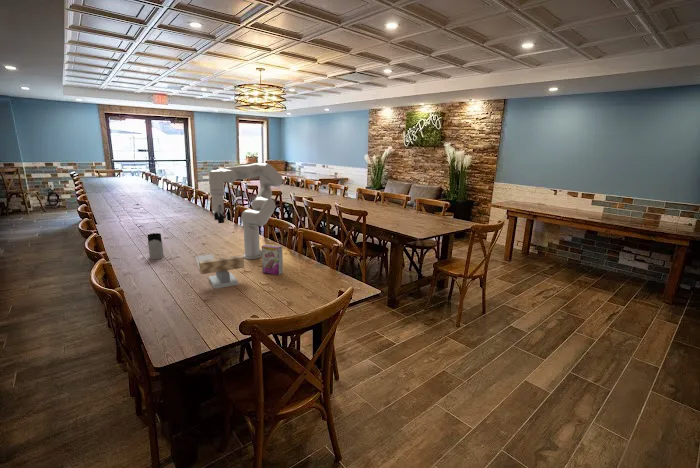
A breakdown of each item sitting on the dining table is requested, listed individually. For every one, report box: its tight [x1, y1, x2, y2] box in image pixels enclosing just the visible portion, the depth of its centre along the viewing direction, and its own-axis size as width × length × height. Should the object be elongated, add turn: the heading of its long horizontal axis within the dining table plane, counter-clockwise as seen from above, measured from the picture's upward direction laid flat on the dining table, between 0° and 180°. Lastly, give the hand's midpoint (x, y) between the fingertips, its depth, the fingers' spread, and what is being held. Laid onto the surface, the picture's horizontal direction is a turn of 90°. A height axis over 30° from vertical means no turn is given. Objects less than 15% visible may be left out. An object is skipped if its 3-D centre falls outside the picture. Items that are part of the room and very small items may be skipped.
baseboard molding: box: [192, 253, 215, 271], centre depth 213 cm, size 31×3×12 cm
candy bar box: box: [261, 243, 284, 276], centre depth 198 cm, size 11×5×16 cm, turn 71°
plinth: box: [208, 270, 239, 289], centre depth 184 cm, size 12×14×7 cm
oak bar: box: [198, 254, 245, 275], centre depth 183 cm, size 22×4×6 cm, turn 122°
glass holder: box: [147, 232, 165, 260], centre depth 224 cm, size 9×14×15 cm, turn 24°
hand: (219, 221), depth 201 cm, fingers open, 9 cm apart
